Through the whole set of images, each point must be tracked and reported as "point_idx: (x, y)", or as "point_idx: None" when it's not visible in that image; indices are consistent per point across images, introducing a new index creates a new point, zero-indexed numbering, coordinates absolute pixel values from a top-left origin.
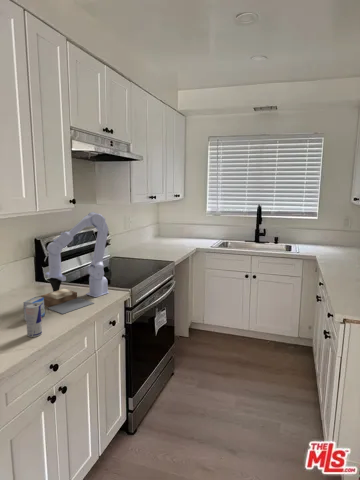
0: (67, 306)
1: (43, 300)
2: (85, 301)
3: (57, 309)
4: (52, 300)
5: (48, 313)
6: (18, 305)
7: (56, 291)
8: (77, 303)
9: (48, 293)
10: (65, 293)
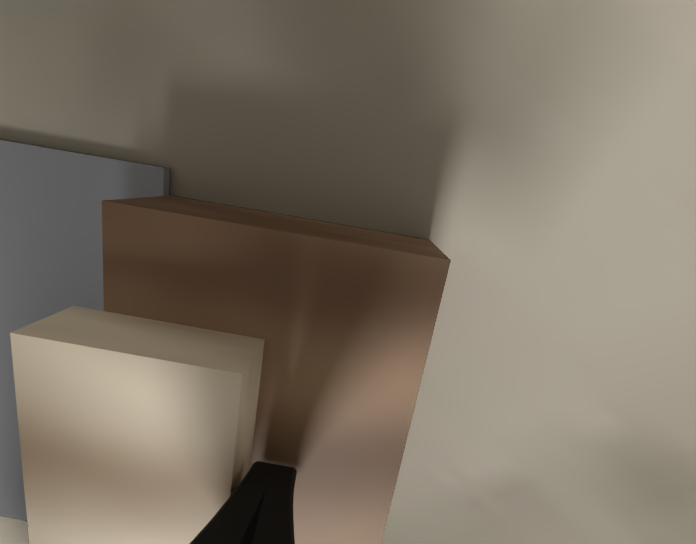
0: (13, 310)
1: None
2: (7, 493)
3: (11, 183)
4: (109, 258)
5: (9, 44)
6: (615, 40)
7: (198, 479)
8: (15, 422)
9: (400, 438)
10: (35, 480)
